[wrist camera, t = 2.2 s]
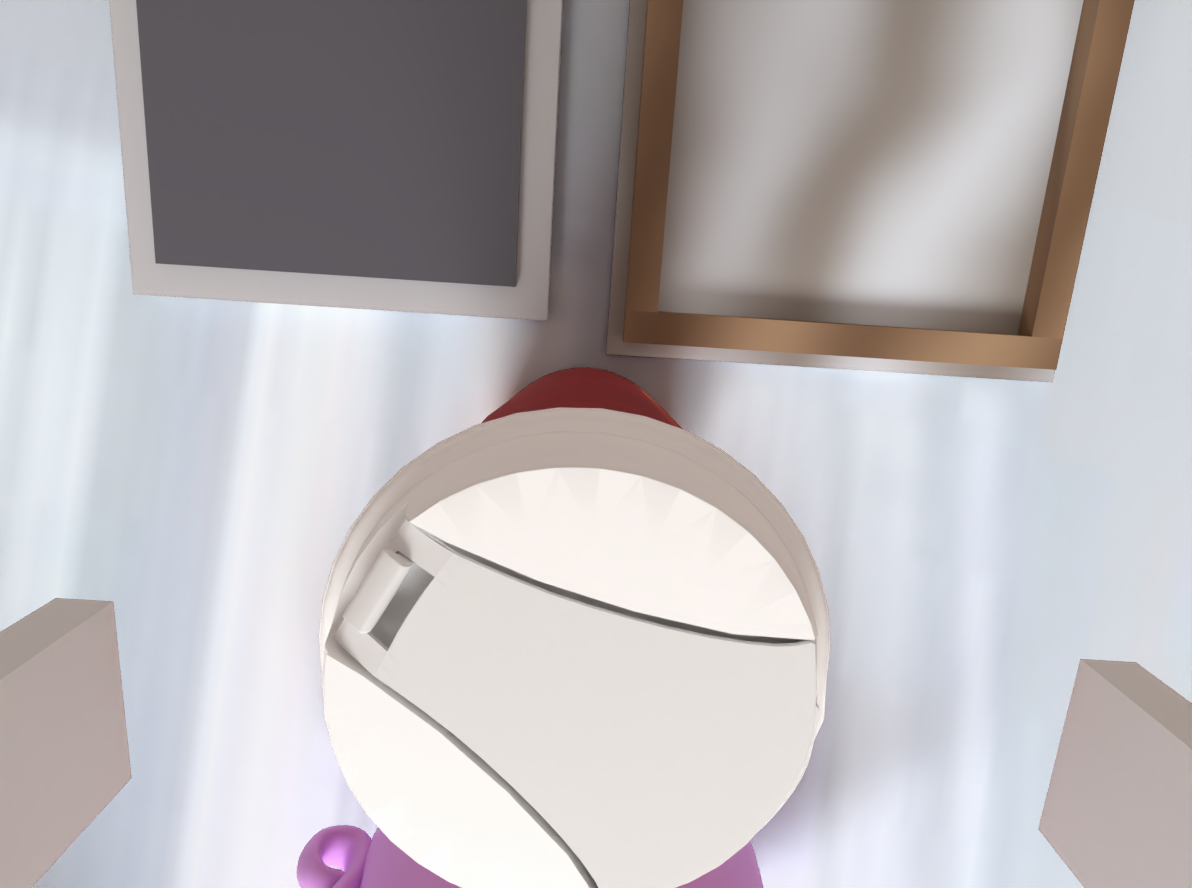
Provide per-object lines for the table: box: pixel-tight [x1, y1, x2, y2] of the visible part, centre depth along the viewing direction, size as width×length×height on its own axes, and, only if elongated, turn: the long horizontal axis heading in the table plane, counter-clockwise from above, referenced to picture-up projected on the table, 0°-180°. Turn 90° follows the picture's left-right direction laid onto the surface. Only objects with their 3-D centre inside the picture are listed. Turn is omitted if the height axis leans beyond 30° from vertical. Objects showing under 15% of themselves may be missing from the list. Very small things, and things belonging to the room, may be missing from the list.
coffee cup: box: [319, 368, 831, 888], centre depth 18 cm, size 8×8×15 cm
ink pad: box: [109, 0, 563, 321], centre depth 22 cm, size 13×13×1 cm
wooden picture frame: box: [606, 0, 1134, 382], centre depth 22 cm, size 15×15×1 cm
